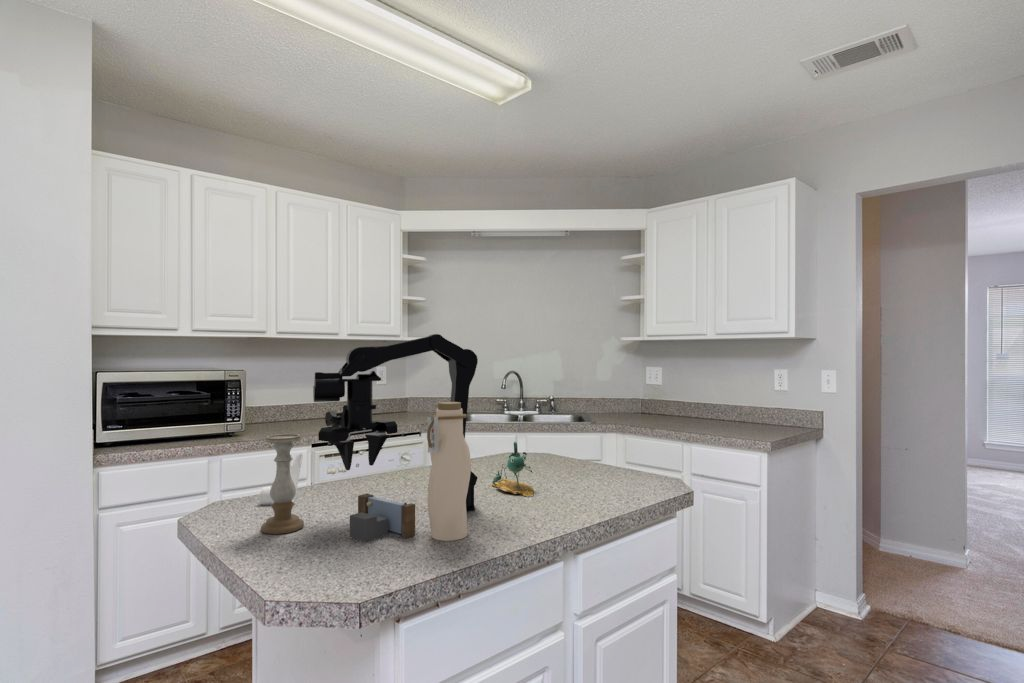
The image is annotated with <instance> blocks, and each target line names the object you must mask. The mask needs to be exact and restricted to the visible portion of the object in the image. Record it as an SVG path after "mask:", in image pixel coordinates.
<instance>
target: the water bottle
mask: <svg viewBox="0 0 1024 683" xmlns="http://www.w3.org/2000/svg"><path fill="white" fill-rule="evenodd" d="M466 417H467V418H468V414H467V415H466V414H463V411H462V409H461V403H460V402H450V401H441V402H438V403H437V408H436V413H435V414H434V415H433V416H430V417H429V416H427V433H426V439H427V453H430V462H431V467H430V471H429V476H428V484H427V508H428V510H427V512H428V519H429V525H430V536H431V538H433V539H434V540H436V541H442V542H444V541H445V542H446V541H447V542H451V541H457V540H462V539H464V538H466V537H467V536H468V519H467V517H468V516H467V510H466V497H467V492H468V486H469V480H470V473H471V471H472V470H471V469H472V465H471V463H472V462H471V460H472V459H471V452H470V447H469V445H468V443H467V441H466V437H465V438H464V435H463V418H466Z"/></svg>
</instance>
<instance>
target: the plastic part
mask: <svg viewBox="0 0 1024 683" xmlns="http://www.w3.org/2000/svg"><path fill="white" fill-rule="evenodd" d="M290 456H291V457H292V455H291V454H290ZM292 458H293V457H292ZM302 461H303V453H298V454H296V455H295V456H294V460H293V462H292V460H291V461H290V474H291V478H292V480H293V482H294V484H295V487H296V491H297V490H298V484H299V479H300V473H301V468H302ZM292 463H293V464H292ZM271 487H272V486H264V487H262V488H261V489H260V490H261V491H260V494H259V503H260V505H262V506H269V505H270V506H271V505H272V504H273V503H274V501H273V500H272V499H271V497H270V489H271ZM296 495H297V494H296ZM296 495H295V496H294V498H293V499H292V502H294V503H295V500H296Z"/></svg>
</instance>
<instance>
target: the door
mask: <svg viewBox="0 0 1024 683" xmlns="http://www.w3.org/2000/svg"><path fill="white" fill-rule="evenodd" d="M403 505H404V503H402V502H397V501H393V500H389V499H386V498H385V499H384V498H380V497H376V496H374V497H369V498H368V502H367V506H368V514H370V515H376V516H380V517H384V518H388V532H394V533H397V534H400V535H402V506H403Z"/></svg>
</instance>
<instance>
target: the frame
mask: <svg viewBox="0 0 1024 683" xmlns="http://www.w3.org/2000/svg"><path fill="white" fill-rule="evenodd" d="M369 497H375V496H374V494H371V493H363V494H359V495H357V513H360V512H363V513H367V514H368V506H367V502H368V498H369ZM403 504H404V505H403V506H402V534H401V537H402V538H404V537H405V539H408V537H409V538H411V537H414V536H416V504H415V503H411V502H410V503H407V502H404V503H403Z"/></svg>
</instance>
